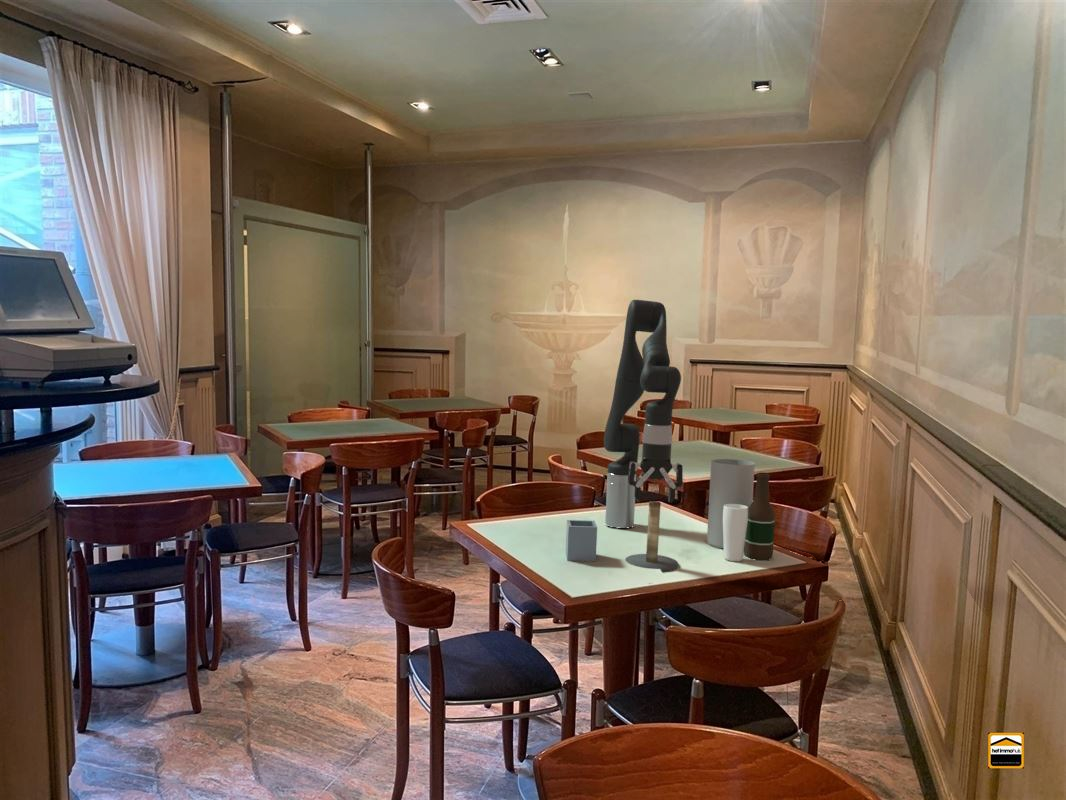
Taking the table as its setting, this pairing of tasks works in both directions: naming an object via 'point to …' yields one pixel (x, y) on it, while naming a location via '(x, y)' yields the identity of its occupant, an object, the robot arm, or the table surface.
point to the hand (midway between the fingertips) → (654, 501)
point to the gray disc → (662, 563)
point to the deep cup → (581, 540)
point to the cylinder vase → (727, 493)
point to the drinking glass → (734, 531)
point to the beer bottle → (760, 522)
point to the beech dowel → (653, 531)
